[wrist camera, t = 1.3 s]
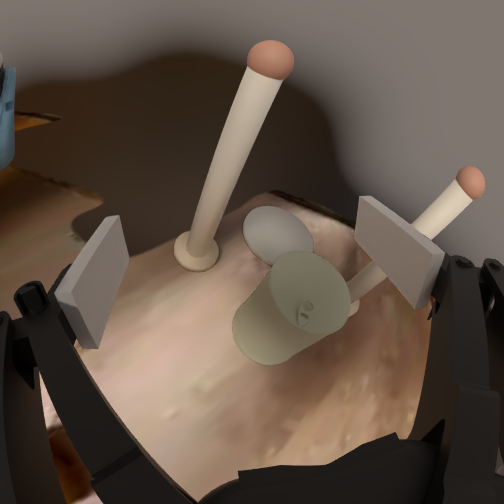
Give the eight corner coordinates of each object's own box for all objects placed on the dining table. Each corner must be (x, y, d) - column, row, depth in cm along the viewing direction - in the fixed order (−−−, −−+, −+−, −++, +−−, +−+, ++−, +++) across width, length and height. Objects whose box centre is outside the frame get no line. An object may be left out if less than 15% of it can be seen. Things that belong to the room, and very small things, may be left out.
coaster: (227, 225, 43) (228, 223, 43) (274, 199, 50) (276, 197, 50) (283, 283, 41) (284, 281, 40) (323, 246, 48) (325, 244, 47)
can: (219, 342, 32) (255, 300, 23) (249, 286, 38) (289, 231, 29) (285, 377, 33) (344, 350, 23) (307, 319, 38) (360, 276, 29)
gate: (167, 263, 36) (234, 33, 14) (181, 229, 40) (248, 26, 18) (356, 321, 41) (504, 203, 20) (354, 289, 45) (482, 169, 24)
